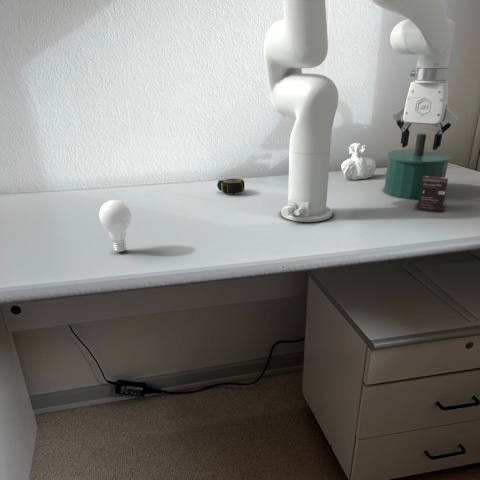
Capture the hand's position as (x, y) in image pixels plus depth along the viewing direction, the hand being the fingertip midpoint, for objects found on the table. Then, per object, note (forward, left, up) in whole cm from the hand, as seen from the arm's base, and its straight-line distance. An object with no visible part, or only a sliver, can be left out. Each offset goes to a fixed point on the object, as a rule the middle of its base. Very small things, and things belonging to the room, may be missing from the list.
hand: (419, 147), depth 135 cm
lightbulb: (-76, +40, -12) cm, 87 cm away
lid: (0, 0, -3) cm, 3 cm away
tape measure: (-26, +45, -12) cm, 53 cm away
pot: (0, 0, -12) cm, 12 cm away
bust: (+8, +20, -12) cm, 25 cm away
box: (-13, -8, -12) cm, 20 cm away
